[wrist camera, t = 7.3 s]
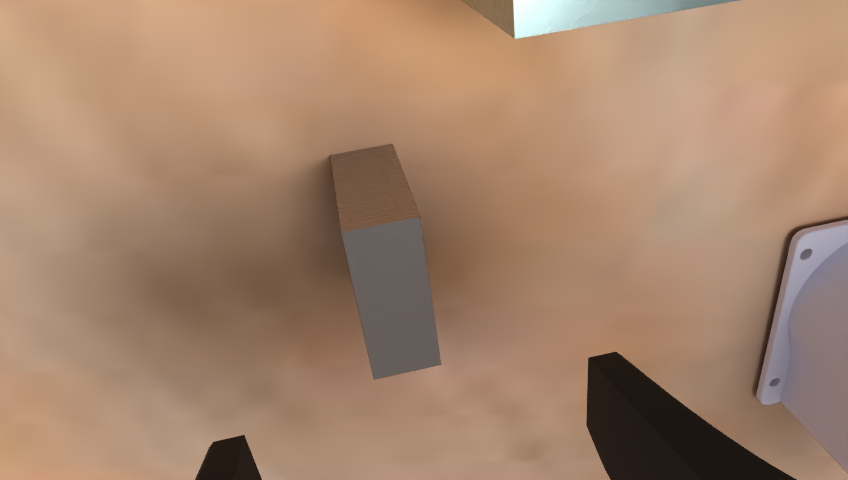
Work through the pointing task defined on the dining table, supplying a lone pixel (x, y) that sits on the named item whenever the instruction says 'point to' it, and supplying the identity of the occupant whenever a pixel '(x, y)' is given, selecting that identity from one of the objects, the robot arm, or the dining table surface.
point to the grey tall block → (386, 260)
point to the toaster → (572, 12)
